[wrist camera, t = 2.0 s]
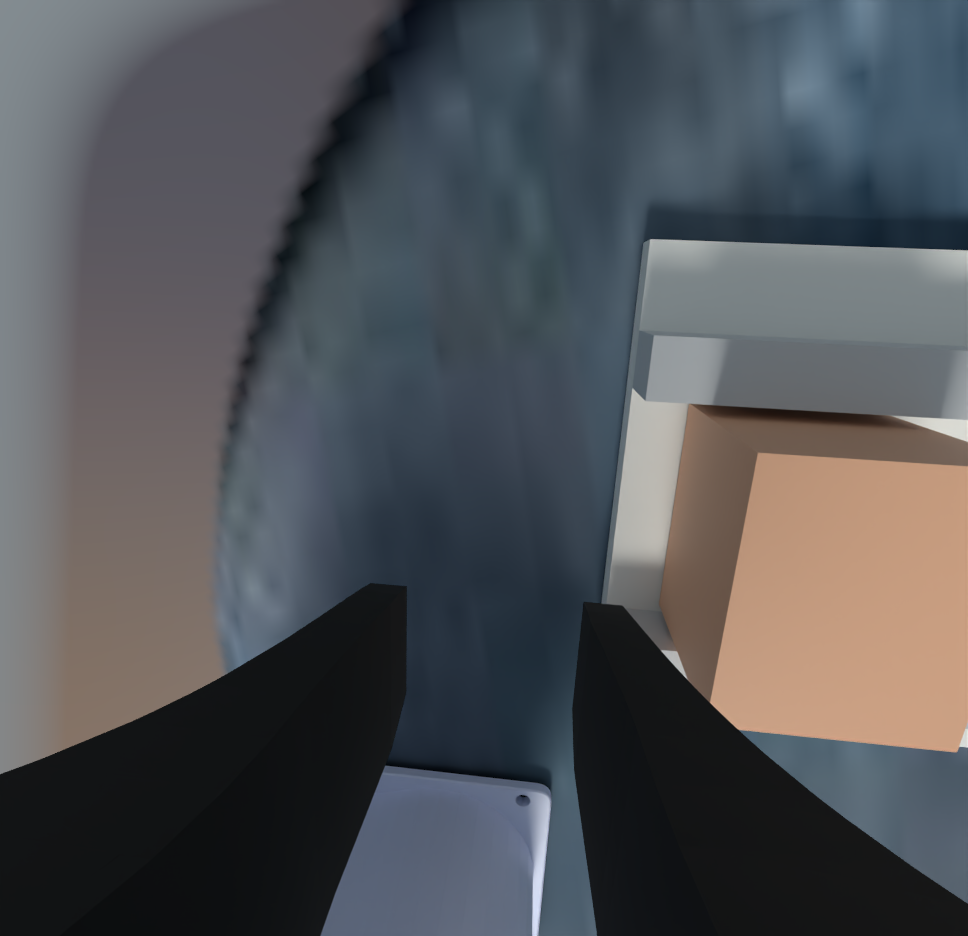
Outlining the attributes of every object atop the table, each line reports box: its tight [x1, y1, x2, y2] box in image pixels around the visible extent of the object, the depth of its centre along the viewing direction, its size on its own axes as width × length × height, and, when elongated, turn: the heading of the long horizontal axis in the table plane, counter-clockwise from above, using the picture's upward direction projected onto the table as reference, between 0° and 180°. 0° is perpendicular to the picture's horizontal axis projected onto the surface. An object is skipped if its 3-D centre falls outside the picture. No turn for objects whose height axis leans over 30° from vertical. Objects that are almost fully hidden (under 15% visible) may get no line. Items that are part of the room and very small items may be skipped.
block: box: [659, 404, 968, 752], centre depth 13 cm, size 5×6×5 cm
